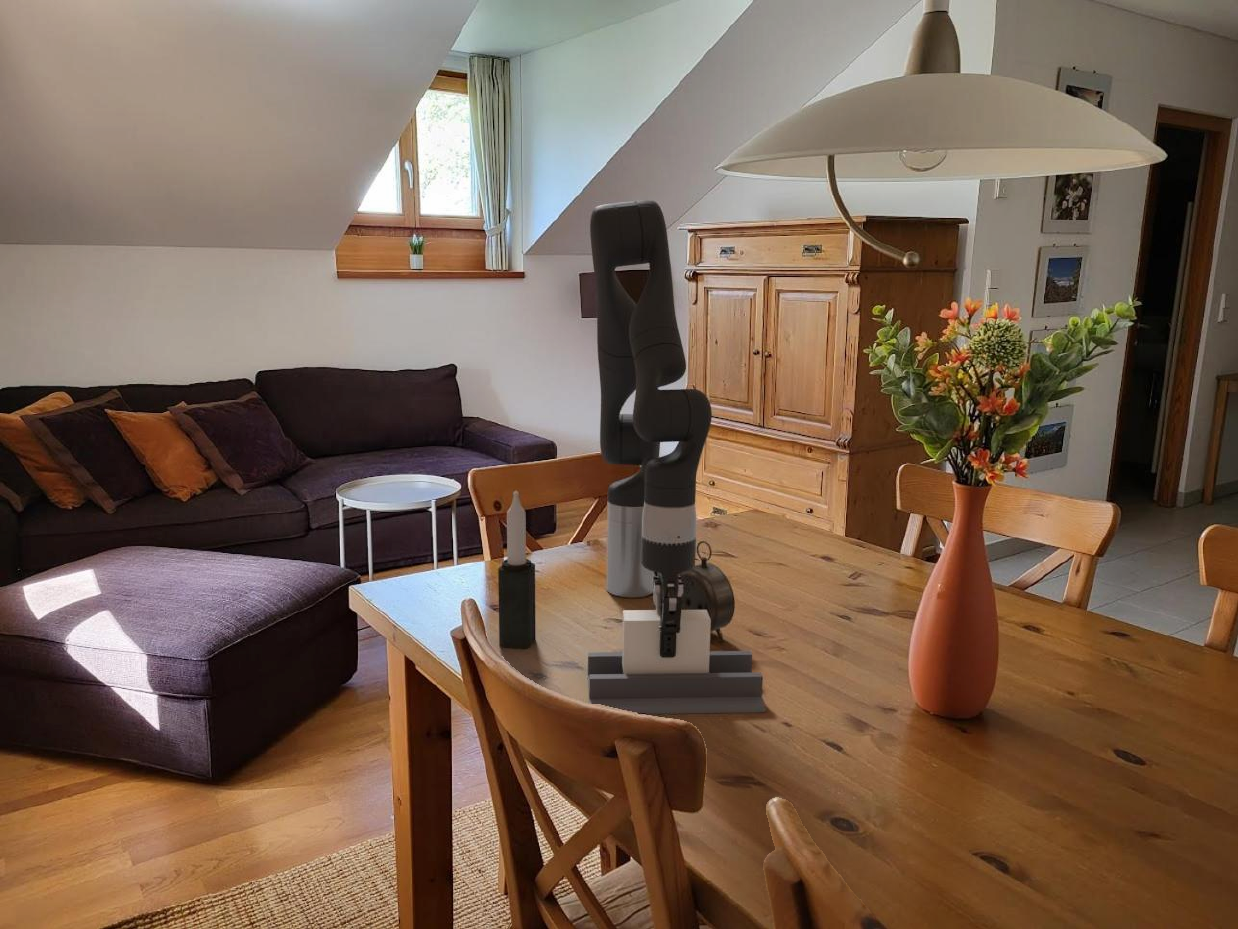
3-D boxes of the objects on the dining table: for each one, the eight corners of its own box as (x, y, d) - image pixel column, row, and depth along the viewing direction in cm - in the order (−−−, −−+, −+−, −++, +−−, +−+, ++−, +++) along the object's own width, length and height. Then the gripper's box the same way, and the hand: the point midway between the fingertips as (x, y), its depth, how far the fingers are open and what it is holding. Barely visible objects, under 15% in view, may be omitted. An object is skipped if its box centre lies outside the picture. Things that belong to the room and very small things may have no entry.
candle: (528, 649, 145) (526, 496, 140) (497, 646, 146) (494, 494, 141) (537, 637, 150) (536, 488, 145) (507, 634, 151) (505, 486, 146)
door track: (587, 670, 138) (587, 645, 137) (745, 668, 140) (747, 643, 139) (589, 714, 124) (590, 687, 124) (765, 712, 126) (766, 685, 125)
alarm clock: (735, 643, 149) (739, 546, 146) (709, 650, 146) (713, 552, 143) (692, 621, 158) (695, 530, 154) (667, 628, 155) (669, 535, 151)
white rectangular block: (621, 662, 133) (622, 610, 131) (704, 662, 133) (706, 609, 132) (623, 674, 129) (624, 620, 127) (708, 673, 130) (710, 620, 128)
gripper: (703, 548, 120) (699, 671, 124) (689, 519, 134) (685, 630, 138) (646, 548, 120) (643, 671, 123) (637, 519, 134) (635, 631, 137)
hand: (665, 649), depth 131 cm, fingers closed on white rectangular block, 4 cm apart
